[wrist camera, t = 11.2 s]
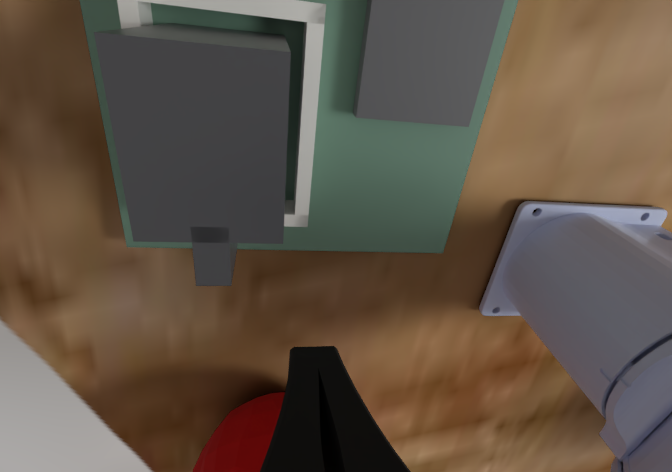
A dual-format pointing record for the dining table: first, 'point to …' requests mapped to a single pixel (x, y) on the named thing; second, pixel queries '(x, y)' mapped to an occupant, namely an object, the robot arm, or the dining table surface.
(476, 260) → the dining table surface
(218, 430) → the tomato
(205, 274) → the plug
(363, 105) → the board
